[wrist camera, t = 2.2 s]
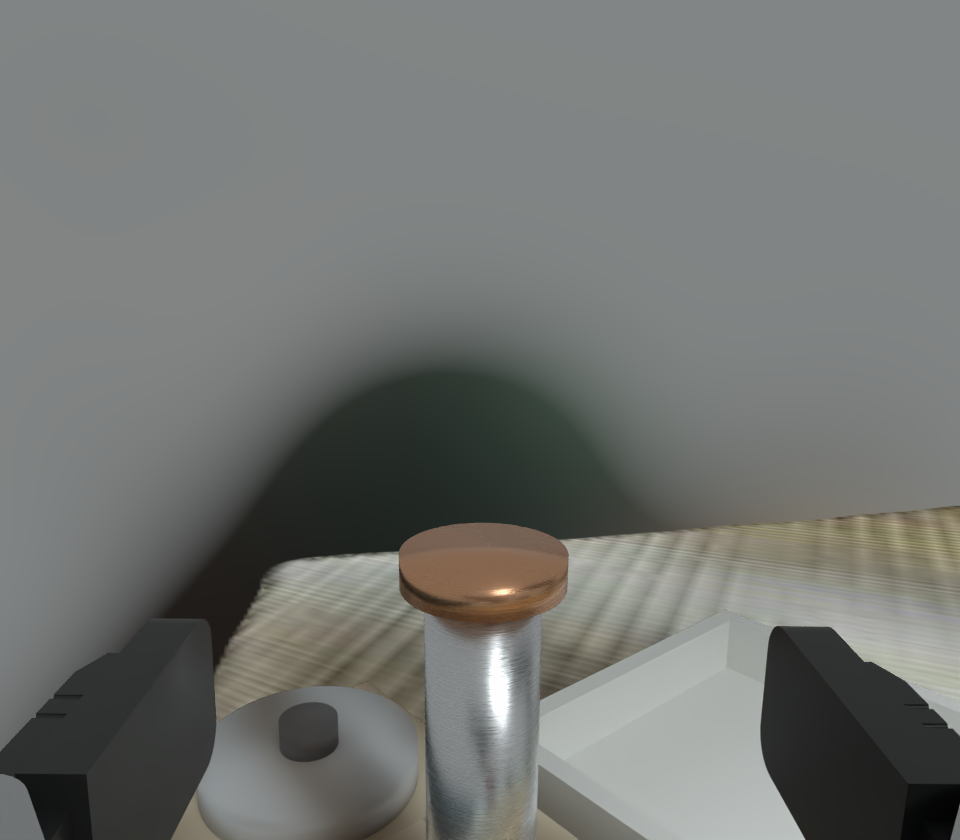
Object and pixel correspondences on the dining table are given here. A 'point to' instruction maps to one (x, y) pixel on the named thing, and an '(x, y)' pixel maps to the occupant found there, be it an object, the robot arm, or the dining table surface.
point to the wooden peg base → (318, 771)
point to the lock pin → (482, 671)
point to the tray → (672, 742)
